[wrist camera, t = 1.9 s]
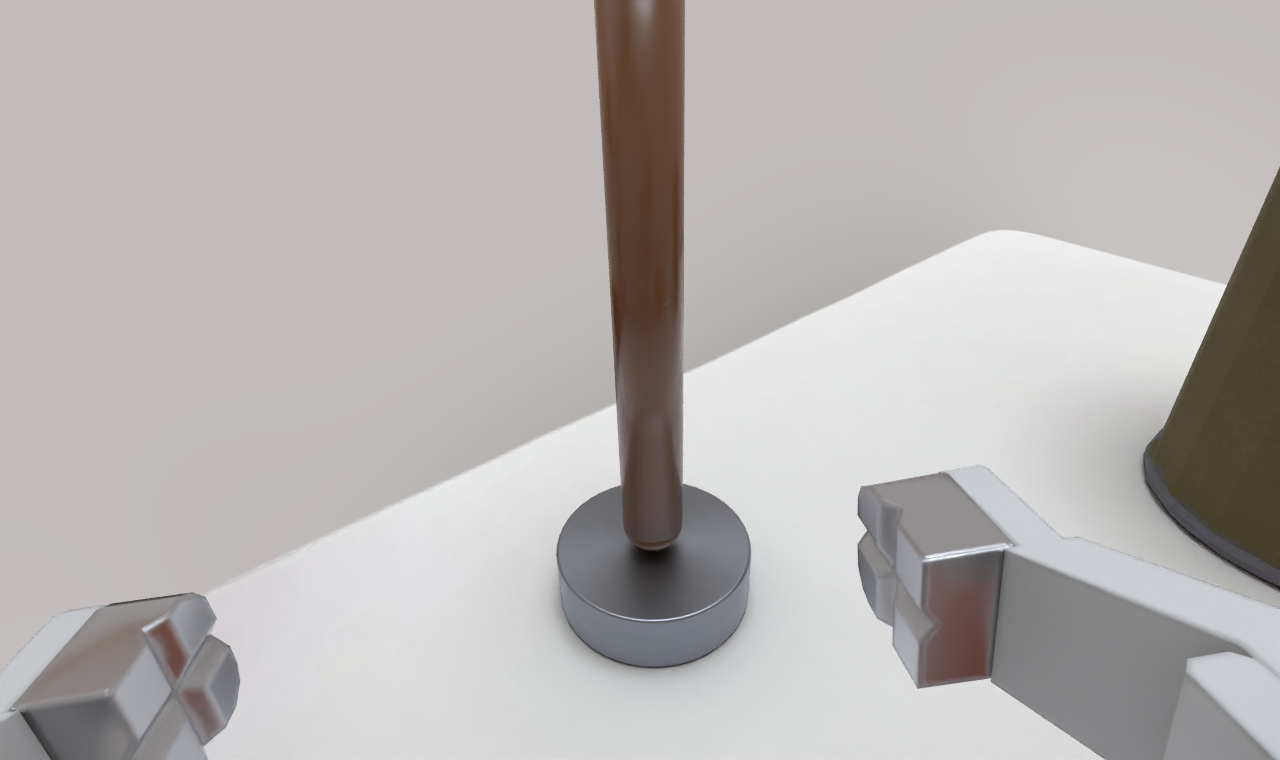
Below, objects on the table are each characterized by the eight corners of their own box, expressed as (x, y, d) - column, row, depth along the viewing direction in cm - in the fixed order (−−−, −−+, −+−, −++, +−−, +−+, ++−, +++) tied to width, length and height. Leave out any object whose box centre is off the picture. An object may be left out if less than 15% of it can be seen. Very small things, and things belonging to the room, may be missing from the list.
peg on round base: (596, 697, 20) (513, -132, 10) (540, 551, 25) (446, -108, 15) (783, 628, 22) (874, -134, 12) (698, 505, 26) (710, -112, 16)
